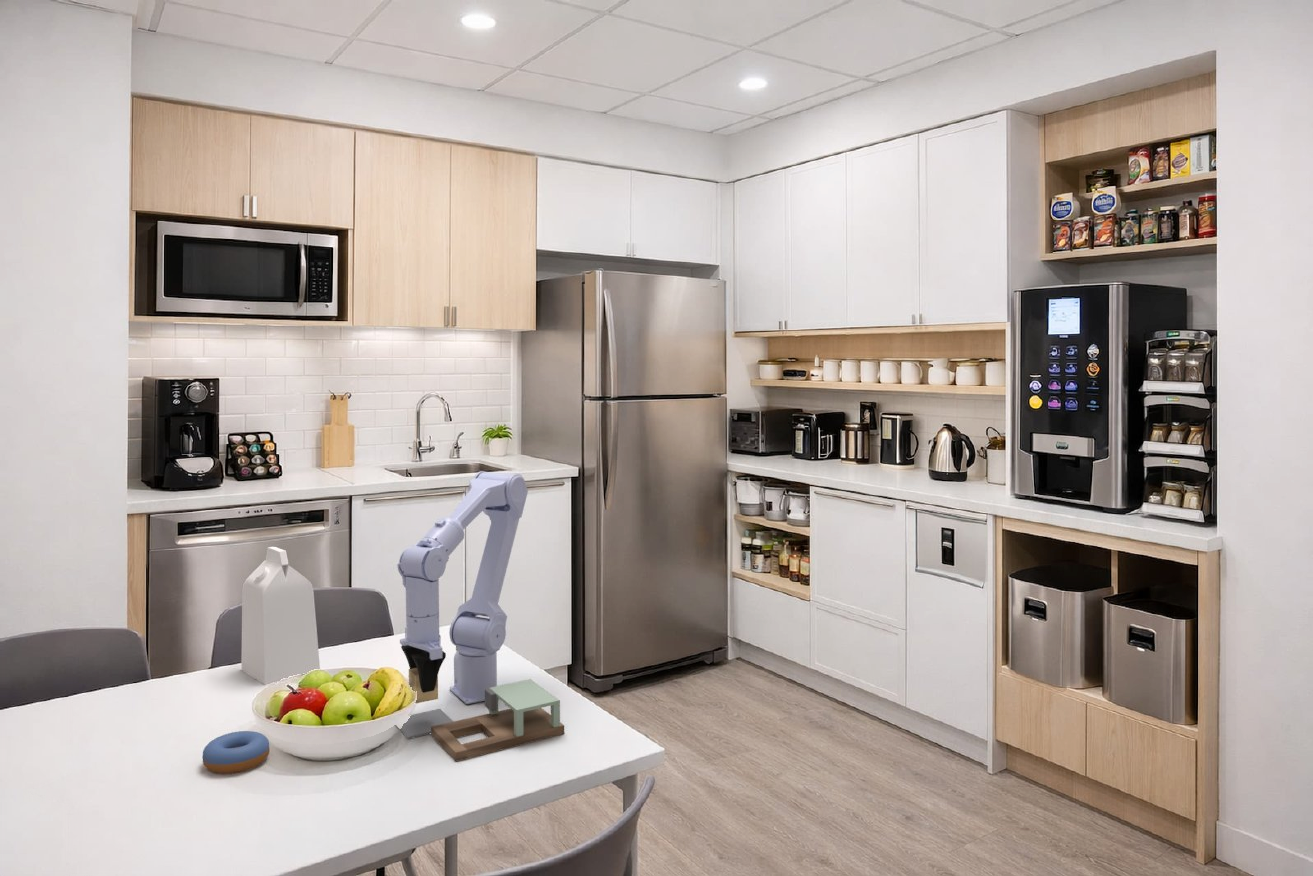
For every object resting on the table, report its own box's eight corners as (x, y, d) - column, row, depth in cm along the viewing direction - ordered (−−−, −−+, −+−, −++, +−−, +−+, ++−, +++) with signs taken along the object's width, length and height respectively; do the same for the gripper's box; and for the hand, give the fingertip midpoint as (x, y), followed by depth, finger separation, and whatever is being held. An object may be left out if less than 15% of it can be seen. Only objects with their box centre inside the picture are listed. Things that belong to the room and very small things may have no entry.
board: (431, 735, 154) (431, 726, 154) (534, 710, 165) (534, 702, 165) (455, 761, 144) (455, 752, 144) (564, 733, 155) (564, 725, 155)
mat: (392, 721, 160) (392, 719, 160) (440, 710, 165) (440, 708, 165) (407, 739, 152) (407, 737, 152) (457, 727, 157) (457, 725, 157)
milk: (320, 670, 185) (316, 549, 183) (264, 685, 177) (260, 558, 174) (295, 656, 193) (291, 540, 191) (241, 670, 185) (236, 548, 183)
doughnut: (240, 742, 150) (237, 718, 149) (284, 756, 146) (282, 731, 145) (189, 773, 141) (186, 747, 140) (234, 788, 137) (232, 762, 136)
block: (409, 696, 158) (408, 669, 158) (430, 691, 161) (430, 665, 160) (416, 703, 155) (415, 676, 155) (438, 698, 157) (437, 671, 157)
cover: (484, 714, 159) (484, 689, 159) (530, 703, 164) (530, 679, 164) (511, 738, 149) (511, 711, 149) (559, 726, 154) (559, 700, 154)
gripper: (388, 606, 160) (389, 678, 162) (413, 627, 148) (414, 705, 150) (425, 601, 164) (427, 671, 165) (453, 620, 152) (454, 696, 153)
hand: (423, 687), depth 158 cm, fingers closed on block, 4 cm apart
